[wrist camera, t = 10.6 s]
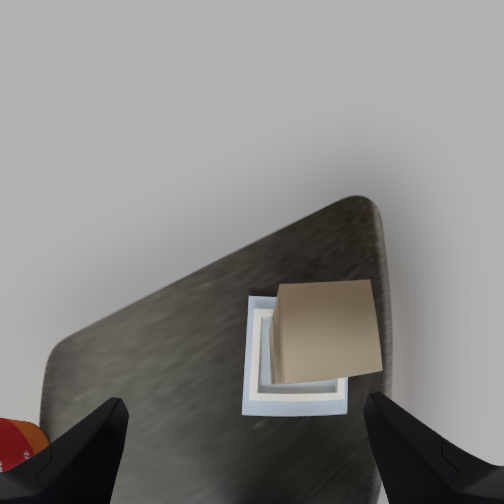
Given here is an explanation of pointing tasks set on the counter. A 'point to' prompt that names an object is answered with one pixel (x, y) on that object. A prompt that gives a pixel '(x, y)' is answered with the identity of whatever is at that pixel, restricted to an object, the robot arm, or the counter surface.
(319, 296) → the birch pillar
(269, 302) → the board
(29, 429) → the paper cup
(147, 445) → the counter surface
